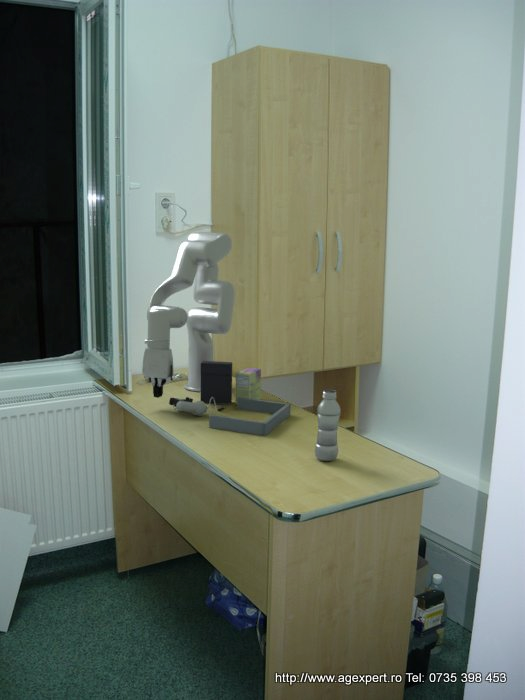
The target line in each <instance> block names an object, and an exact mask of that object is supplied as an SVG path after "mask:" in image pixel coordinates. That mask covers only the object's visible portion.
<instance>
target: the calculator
mask: <svg viewBox="0 0 525 700" xmlns="http://www.w3.org/2000/svg"><path fill="white" fill-rule="evenodd" d="M232 393H233V362H231V361H217V360H215V361H214V360H213V361H202V363H201V392H200V401H202V402H204V403H205V404H209V403H210V399H211V397H213V398H214V399H215V403H216V405H220V404H221V405H231V403H232V402H233V401H232V400H233V399H232V397H233V396H232V395H233V394H232ZM213 398H212V399H211V403H210V404H214V400H213ZM214 405H215V404H214Z"/></svg>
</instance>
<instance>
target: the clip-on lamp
mask: <svg viewBox="0 0 525 700" xmlns="http://www.w3.org/2000/svg"><path fill="white" fill-rule="evenodd" d="M212 398H213V397H211V399H212ZM211 399H210V403H208V405H206V403H204V402H202V401H201V400H196V401H195V402H194V399H193V398H190V397H189V396H186V397H185V398H177V397H170V398H169V402H168V404H169V405H170V406H173V408H172V409H173V410H174V411H176V410H177V411H180V412H186V413H193V415H195V416H196V417H202V416H203V415H204V414H205V413H207V411H208V409H209V408H210V405H211V404H212V403H211ZM213 400H214V408H215V410H216V411H217V412H222V411H224V410H226V409H227V407H226V406H222V407H219V408H217V404H216V403H215V399H214V398H213Z"/></svg>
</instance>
